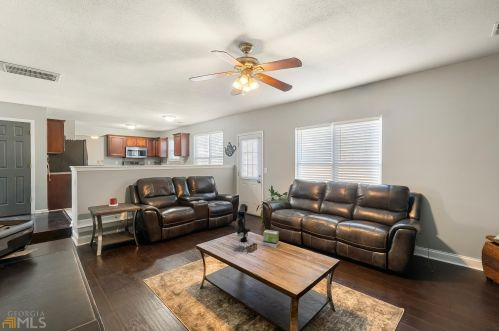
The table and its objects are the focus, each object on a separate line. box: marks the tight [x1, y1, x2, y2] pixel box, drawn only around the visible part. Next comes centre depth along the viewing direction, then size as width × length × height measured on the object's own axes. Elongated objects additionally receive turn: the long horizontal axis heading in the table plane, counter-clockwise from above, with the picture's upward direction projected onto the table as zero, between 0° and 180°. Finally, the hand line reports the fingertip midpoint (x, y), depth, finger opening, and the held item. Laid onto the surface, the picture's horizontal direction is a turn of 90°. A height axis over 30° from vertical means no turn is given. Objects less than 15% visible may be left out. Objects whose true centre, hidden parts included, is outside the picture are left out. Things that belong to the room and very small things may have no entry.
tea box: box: [262, 229, 280, 248], centre depth 244 cm, size 15×10×15 cm
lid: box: [235, 233, 248, 240], centre depth 232 cm, size 10×6×3 cm, turn 143°
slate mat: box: [233, 245, 246, 253], centre depth 232 cm, size 9×13×1 cm
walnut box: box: [245, 242, 258, 254], centre depth 228 cm, size 12×5×6 cm, turn 143°
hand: (241, 237), depth 232 cm, fingers closed on lid, 6 cm apart
